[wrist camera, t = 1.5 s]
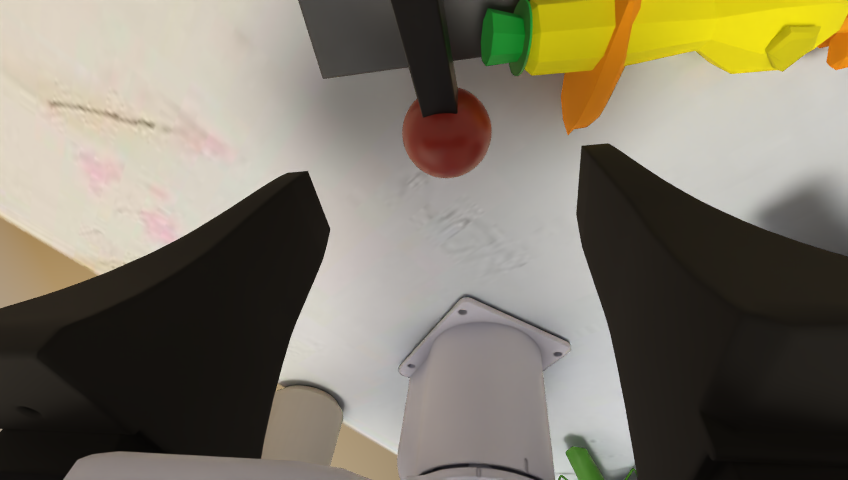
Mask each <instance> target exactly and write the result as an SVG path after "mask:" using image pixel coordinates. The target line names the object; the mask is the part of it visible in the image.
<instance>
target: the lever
mask: <svg viewBox="0 0 848 480" xmlns="http://www.w3.org/2000/svg"><path fill="white" fill-rule="evenodd" d="M390 1H391V5H392V8H393V12H394V16H395V19H396V23H397V26H398V30H399V34H400V37H401V41H402V44H403V48H404V52H405V55H406V59H407V63H408V66H409V70H410V73H411V77H412V81H413V84H414V88H415V92H416V95H417V99H416V100H415V101H414V102H413V103H412V105H411V106H410V108H409V109H408V111H407V113H406V116H405V119H404V122H403V129H402V136H403V143H404V147H405V150H406V152H407V154H408V156H409V158H410V159H411V161H412V162H413V163H414V164H415V165H416V166H417V167H418V168H419V169H420V170H422V171H423V172H425V173H427V174H429V175H432V176H435V177H439V178H454V177H458V176H461V175H464V174H466V173H468V172H470V171H471V170H472V169H474V168H475V167H476V166H477V165H478V164H479V163H480V162H481V161H482V160H483V158H484V156H485V155H486V153H487V151H488V148H489V146H490V141H491V133H492V128H491V121H490V118H489V115H488V112H487V110H486V109H485V107H484V105H483V104H482V103H481V101H480V100H479V99H478V98H477V97H476V96H474V95H473V94H472V93H470V92H468V91H466V90H464V89H462V88H458V87H457V83H456V76H455V70H454V64H453V58H452V52H451V46H450V40H449V34H448V28H447V22H446V16H445V9H444V3H443V0H390Z"/></svg>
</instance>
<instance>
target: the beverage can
mask: <svg viewBox="0 0 848 480" xmlns="http://www.w3.org/2000/svg"><path fill="white" fill-rule="evenodd" d="M342 421H343V412H342V410H341V408H340V407H339V406H338V403H337V401H336V400H335V399H334V398H333V397H332V396H331V395H329V394H328V393H326V392H324V391H322V390H319V389H316V388H313V387H309V386H301V385H295V386H289V387H286V388H284V389H280V390H277V391H275V395H274V399H273V403H272V408H271V412H270V417H269V421H268V426H267V430H266V435H265V439H264V445H263V451H262V456H261V459H269V460H287V461H301V462H307V463H313V464H319V465H325V466H330V464H331V460H332V457H333V453H334V449H335V446H336V442H337V439H338V435H339V431H340V427H341V424H342Z"/></svg>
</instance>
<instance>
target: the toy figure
mask: <svg viewBox="0 0 848 480" xmlns="http://www.w3.org/2000/svg"><path fill="white" fill-rule="evenodd" d="M827 46H829V50H828V56H827V63H828V64H829V66H831V67H832V68H834V69H835V70H838V69H842V68H846V67H848V0H530V1H528V0H520V1H519V2H518V4H517V5H516V8H515V10H514V13H513V14H512V13H508V12H503V11H499V10H495V9H490V8H488V9H487V12H486V15H485V17H484V20H483V27H482V36H481V54H482V61H483V63H484V64H485V66H491V65H498V64H504V63H509V66H510V70H511V73H512V74H513V75H514V76H519V75H520V74H521V73H522V72H523V70H524V69H525V70H526V71H527V72H528V73H529V74H530V75H531V76H533V75H545V74H556V73H565V74H564V80H563V87H562V93H561V103H562V114H563V121H564V125H565V128H566V131H567V134H568V135H569V134H570V133H571V132H572V131H573V130H574V129H578V128H584V127H588V126H589V125H590V124H591V123H592V122H593V121H595V120H596V119H597V118H598V117H599V116H600V115H601V113H602V111H603V109H604V108H605V106H606V104H607V102H608V100H609V98H610V96H611V94H612V92H613V90H614V88H615V86H616V84H617V82H618V80H619V78H620V76H621V74H622V72H623V70H624V67H625V66H627V65H632V64H636V63H641V62H645V61H650V60H655V59H659V58H664V57H668V56H673V55H677V54H682V53H686V52H691V51H696V52H697V53H699V54H700V55H701V56H702V57H703V58H705V59H706V60H707V61H708V62H709V63H711V64H713V65H715V66H717V67H719V68H721V69H723V70H724V71H726V72H728V73H730V74H736V73H747V72H759V71H770V70H780V71H784V70H785V69H786V68H788V67H789V66H790V65H792V64H793V63H794V62H796V61H797V60H798V59H800V58H801V57H802V56H804V55H805V54H806V53H808V52H810V51H811V50H813V49H815V48H816V47H818V48H823V47H827Z"/></svg>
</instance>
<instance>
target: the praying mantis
mask: <svg viewBox="0 0 848 480" xmlns="http://www.w3.org/2000/svg"><path fill="white" fill-rule="evenodd" d="M566 455H567V457H568V459H569V461H570V463H571V465H572V467H573V469H574V471H575V473H576V475H577V477H578V480H604V478H603V476H602V474H601V473H600V471H599V469H598V468H597V466H596V464H595V463H594V461H593V460H592V458H591V456H590V455H589V453H588V451H587V450H586V449H585V448H580V447H574V446H572V447H571V448H570V449H568V450H567V451H566ZM633 471H635V473H636V475H637V472H636V470H635V469H634V468H632V469H631V470H630V472H629V473H628V475H627V476H626V478H625V479H624V480H627V479H628V478H629V477H630V475H631V473H632V472H633ZM561 477H562V478H563V479H565V480H568V479H566V478H565V477H564V476H563V475H560V477H559V479H558V480H560V479H561Z"/></svg>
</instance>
